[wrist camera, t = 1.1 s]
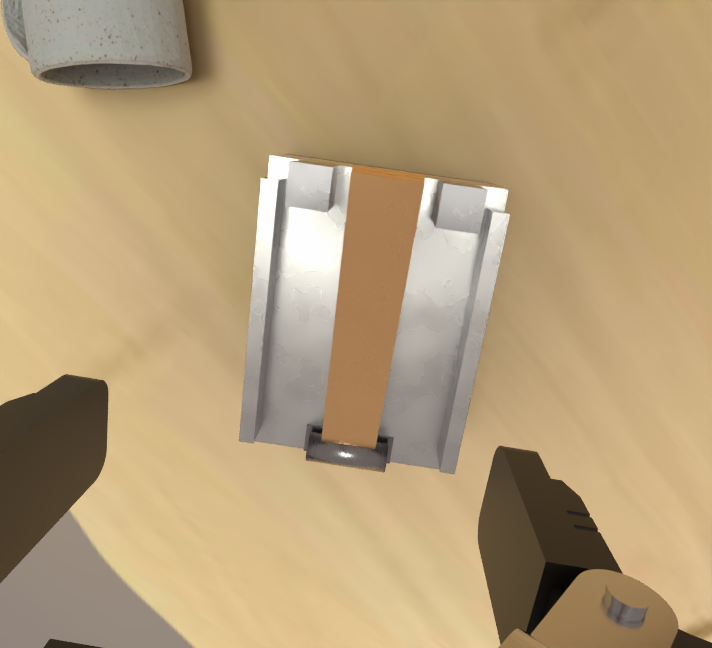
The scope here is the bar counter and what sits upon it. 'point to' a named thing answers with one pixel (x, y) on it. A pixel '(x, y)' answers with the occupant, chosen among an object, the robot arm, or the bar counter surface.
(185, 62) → the ceramic mug
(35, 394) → the robot arm
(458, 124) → the bar counter surface
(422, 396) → the block
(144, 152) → the bar counter surface
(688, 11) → the bar counter surface
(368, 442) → the strap
